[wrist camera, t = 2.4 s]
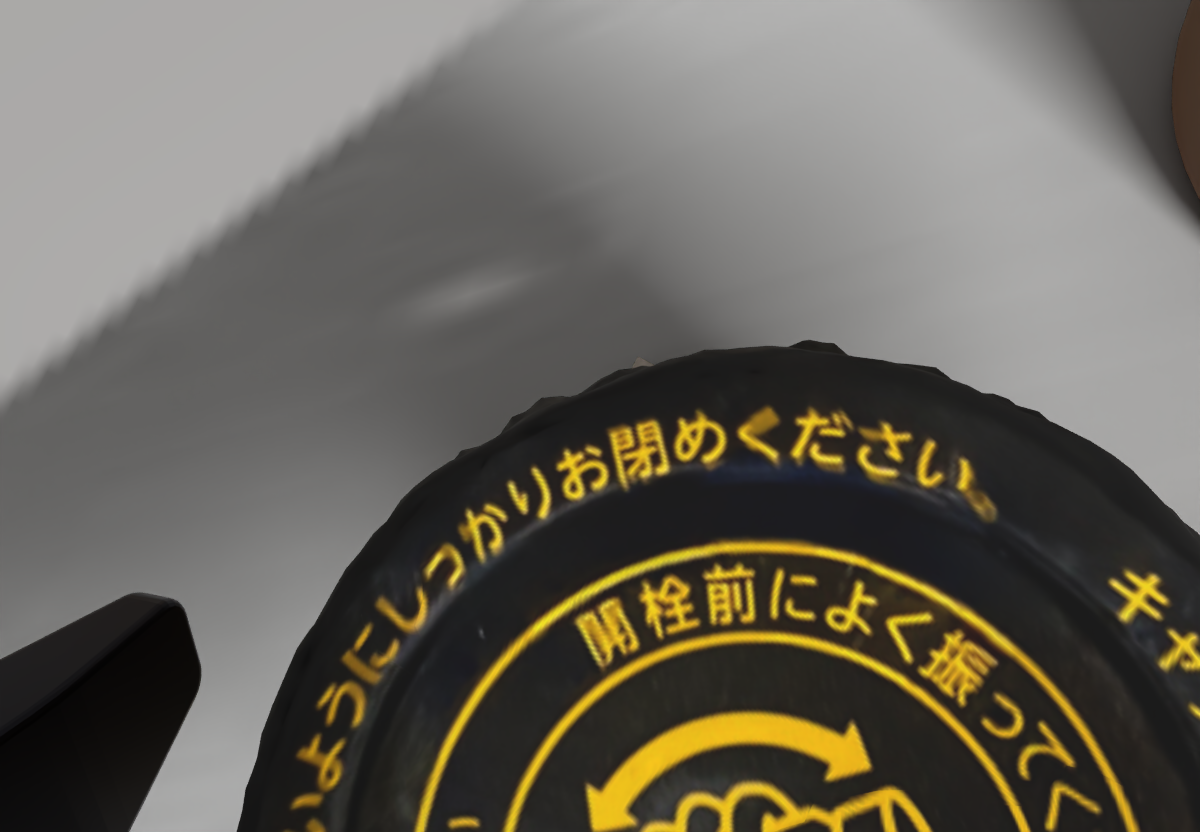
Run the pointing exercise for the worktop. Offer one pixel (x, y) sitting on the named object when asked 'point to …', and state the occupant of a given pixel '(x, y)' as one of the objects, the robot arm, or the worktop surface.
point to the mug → (1188, 94)
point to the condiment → (755, 622)
